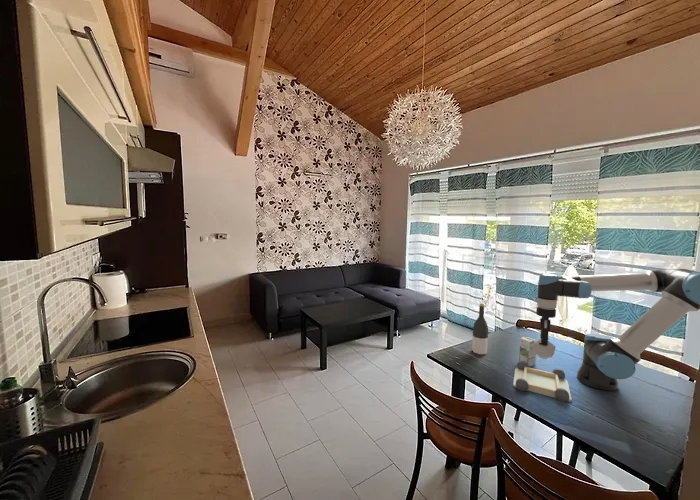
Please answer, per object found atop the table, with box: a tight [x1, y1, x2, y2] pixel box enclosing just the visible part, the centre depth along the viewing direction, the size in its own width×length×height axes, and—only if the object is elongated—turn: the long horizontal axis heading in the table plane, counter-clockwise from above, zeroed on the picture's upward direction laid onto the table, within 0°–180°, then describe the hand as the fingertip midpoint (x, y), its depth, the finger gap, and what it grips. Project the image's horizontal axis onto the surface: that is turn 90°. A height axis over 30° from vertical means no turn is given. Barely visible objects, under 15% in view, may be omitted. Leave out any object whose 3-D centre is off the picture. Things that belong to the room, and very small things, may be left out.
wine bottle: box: [471, 302, 489, 356], centre depth 172 cm, size 8×8×30 cm
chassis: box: [512, 361, 573, 403], centre depth 141 cm, size 22×23×5 cm
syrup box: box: [518, 336, 537, 367], centre depth 161 cm, size 6×6×14 cm
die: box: [533, 338, 556, 359], centre depth 138 cm, size 8×9×10 cm
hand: (542, 355), depth 140 cm, fingers closed on die, 6 cm apart
